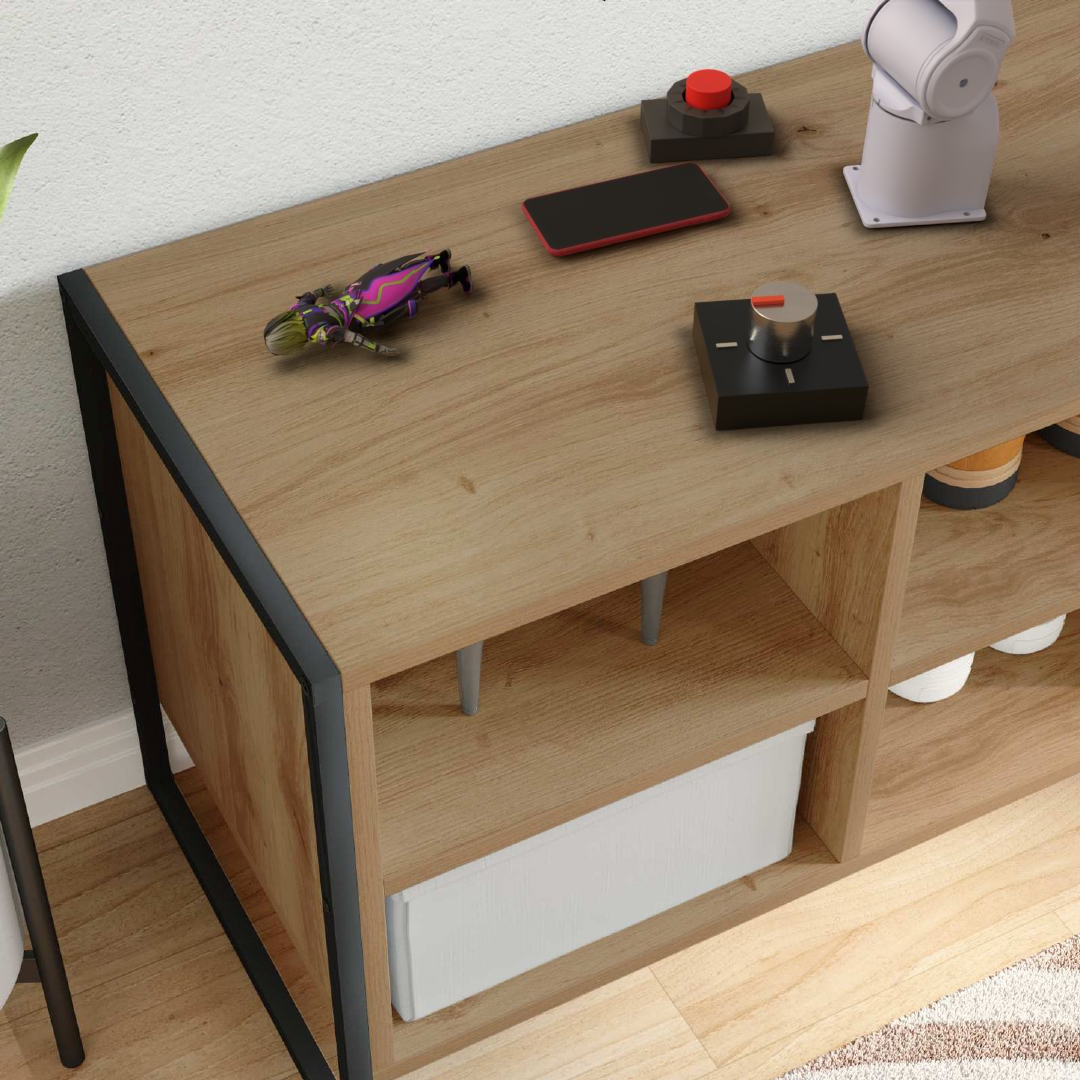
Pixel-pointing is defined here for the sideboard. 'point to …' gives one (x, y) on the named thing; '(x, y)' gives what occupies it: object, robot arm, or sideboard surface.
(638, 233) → the smartphone
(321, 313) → the character figure
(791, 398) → the dimmer panel
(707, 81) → the light button
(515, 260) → the sideboard surface
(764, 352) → the dimmer knob
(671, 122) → the light switch
